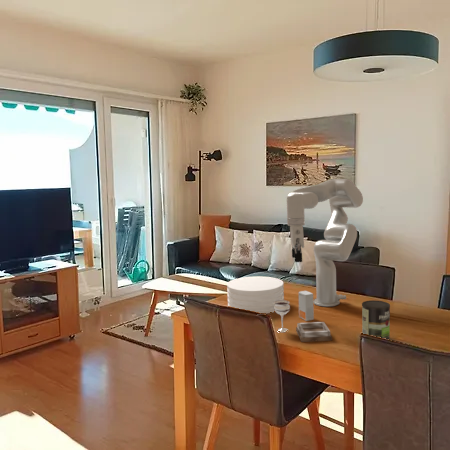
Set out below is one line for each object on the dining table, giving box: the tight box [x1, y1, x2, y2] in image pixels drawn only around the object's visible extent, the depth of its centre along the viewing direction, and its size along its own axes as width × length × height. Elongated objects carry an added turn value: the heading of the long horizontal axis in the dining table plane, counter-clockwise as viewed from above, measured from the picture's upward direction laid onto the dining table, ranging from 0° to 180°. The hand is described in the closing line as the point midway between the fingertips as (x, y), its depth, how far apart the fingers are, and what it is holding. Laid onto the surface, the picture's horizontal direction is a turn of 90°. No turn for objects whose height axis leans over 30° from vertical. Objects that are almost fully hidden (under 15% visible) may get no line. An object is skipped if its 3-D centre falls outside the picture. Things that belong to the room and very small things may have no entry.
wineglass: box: [274, 299, 291, 333], centre depth 187 cm, size 7×7×12 cm
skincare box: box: [298, 290, 315, 322], centre depth 200 cm, size 6×4×12 cm
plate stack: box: [226, 275, 285, 314], centre depth 222 cm, size 28×28×12 cm
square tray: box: [295, 321, 333, 343], centre depth 180 cm, size 12×12×4 cm
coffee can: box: [361, 299, 391, 340], centre depth 173 cm, size 10×10×14 cm
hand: (297, 259), depth 199 cm, fingers open, 9 cm apart
